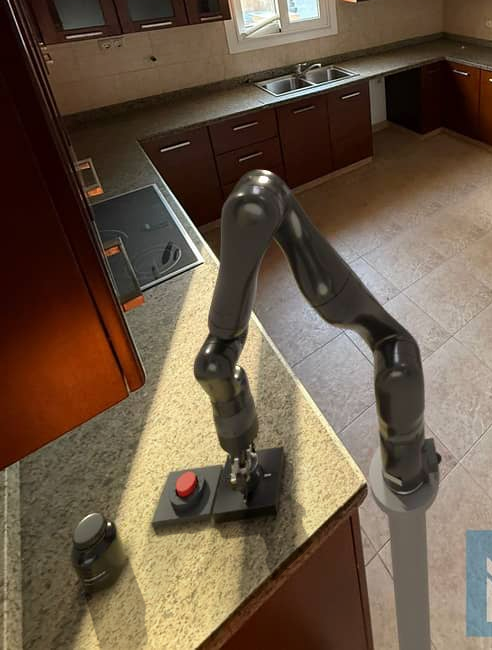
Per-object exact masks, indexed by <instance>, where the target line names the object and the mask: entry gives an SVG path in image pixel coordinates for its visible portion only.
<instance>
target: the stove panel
mask: <svg viewBox="0 0 492 650" xmlns="http://www.w3.org/2000/svg"><path fill="white" fill-rule="evenodd" d="M255 451H256V455H257V457H258V462H259V467H260V471H261V477H260V480H259V482H258V483H257V485H256V486H255V487H253V488H252V491H251V492H249V493H245V494H241V492H240V491H232V489H231V488H230V487H229V485H228V484H227V481H226V479H227V476H228V475H230V474H232V465H231V459H230V457H229V454H227V455H226V458H225V463H224V465H223V469H224V470H223V474H222V478H221V482H220V486H219V490H218V494H217V498H216V502H215V506H214V509H213V513H212V518H213V523H214V525H218V524H224V523H231V522H237V521H244V520H250V519H256V518H262V517H263V518H264V517H268V516H275V515H278V510H279V503H280V496H281V487H282V480H283V473H284V465H285V457H286V455H285V449H284V446H278V447H271V448H264V449H258V450H255Z"/></svg>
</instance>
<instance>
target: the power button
mask: <svg viewBox="0 0 492 650" xmlns="http://www.w3.org/2000/svg"><path fill="white" fill-rule="evenodd" d="M196 485H197V480H196V477H195V474H194V473H193V472H186V473H184V474H183V475H181V476H180V478H179V479H178V481H177V483H176V490H177V493H178V495H179V496H180V497H186V496H188V495H190V494H191V493H192V492H193V491H194V489H195V488H196Z"/></svg>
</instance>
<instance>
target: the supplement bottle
mask: <svg viewBox="0 0 492 650" xmlns="http://www.w3.org/2000/svg"><path fill="white" fill-rule="evenodd" d="M120 534H121V533H120V532H119V529H118V527H117V524H116V522H115V521H114V520H113V519H111V518H107V517H106V516H105V515H104V513H103V512H98V511H96V512H93V513H90V514H88V515H87V516H85V517H84V518H83V519H81V521H80V522H79V523H78V524H77V525H76V527H75V529H74V530H73V532H72V537H71V542H72V547H71V549H70V556H69V557H70V562H71V565H72V567H73V569H74V572H75V574H76V577H77V578H78V581H79V583H80V586H81V587H82V589H83V592H85V593H86V594H88V595H96V594H100V593H102V592H104V591H106V590H107V589H108V588H110V587H111V586H112V585H114V583H115V582H116V580H118V578H119V577H120V575H121V574H122V572H123V569H124V567H125V564H126V562H127V553H126V552H127V551H126V548H125V546H124V543H123V540H122V538H121V535H120Z"/></svg>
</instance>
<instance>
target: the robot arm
mask: <svg viewBox="0 0 492 650" xmlns="http://www.w3.org/2000/svg"><path fill="white" fill-rule="evenodd" d="M220 215H221V217H220V256H219V266H218V272H217V277H216V281H215V285H214V289H213V292H212V296H211V297H212V298H211V301H210V306H209V311H208V316H207V328H208V330H209V332H208V334H207V336H206V338H205V340H204V342H203V343H202V345H201V347H200V349H199V351H198V352H197V354H196V356H195V359H194V362H193V376H194V379H195V382H197V384H199V386H200V387H201V388H202V390H203V391H204V392H205V394H207V396H208V397H209V401H210V405H211V409H212V421H213V424H214V428H215V432H216V436H217V439H218V444H219V447H220V448H221V449H222V451H224V452H226V453H227V454H228V455H229V457H230V459H231V465H232V474H230V475H228V476H227V479H226V481H227V484H228V485H229V487H230V488H231V489H232V491H240V492H241V494H245V493H249V492H251V491H252V483H251V478H250V472H249V470H250V467H251V452H253V453H255V454H256V451H257V450H256V449H257V443H256V441H257V439H258V434H259V430H260V422H259V417H258V412H257V407H256V404H255V403H256V402H255V398H254V395H253V394H252V390H251V387H250V381H249V377H248V373H247V372H246V370H245V368H243V367H242V366H241V365H239V364H238V362H239V361H240V357H241V355H242V353H243V351H244V348H245V345H246V342H247V339H248V335H249V330H250V329H249V327H250V320H251V316H252V313H253V309H254V305H255V301H256V298H257V297H256V296H257V290H258V277H259V270H260V267H261V264H262V261H263V258H264V256H265V254H266V252H267V249H268V248H269V246H270V244H271V242H272V240H274V241H275V242H276V243H277V245H278V246H279V248H280V249H281V251H282V253H283V255H284V258H285V259H286V262H287V265H288V267H289V270H290V272H291V275H292V277H293V280H294V283H295V285H296V287H297V289H298V291H299V293H300V295H301V297H302V298H303V299H304V301H305V302H306V303H307V304H308V306H310V308H311V309H312V310H313V311H314V312H315V313H316V314H317V315H318V316H319V317H320V319H322V320H323V322H325V323H326V324H328V325H330V326H331V327H334V328H337V329H340V330H341V329H342V330H346V331H352V332H355V333H356V334H357V335H358V336H359V337H360V338H361V339H362V340H363V342H364V343H365V344H366V345H367V347H368V348H369V350H370V351H371V354H372V357H373V389H374V400H375V411H376V415H377V423H378V436H379V446H380V449H381V461H382V477H383V480H384V483H385V485H386V486H387V488H388V489H389V490H390V491H391V492H393V493H395V494H397V495H401V496H407V495H411V494H413V493H415V492H416V491H418V490H419V489H420V488H421V486H422V485H423V484H426V483H428V474H429V473H435V472H438V464H439V465H440V464H441V463H442V461H443V458H442V455H441V454H440V453H439V452H438V451H437V450H436V443H435V438H434V437H428V438H426V433H425V432H426V431H425V409H426V389H425V388H426V387H425V375H424V370H423V361H422V355H421V354H422V353H421V349H420V346H419V344H418V341H417V340H416V338H415V336H414V335H413V334H412V333H411V332H410V331H409V330H408V329H406V328H405V326H404V325H402V324H401V323H400V322H399V321H398V320H396V318H395V317H393V316H392V315H391V313H389V312H388V311H387V310H386V309H385V308H384V306H383V305H382V304H381V302H380V301H379V300H378V299H377V297H376V296H375V295H374V294H373V293H372V292H371V291H370V289H369V288H368V287H367V286H366V284H365V283H364V282H363V281H362V279H361V278H360V277H359V275H358V274H357V273H356V272H355V270H353V268H352V267H351V266H350V265H349V263H347V262H346V261H345V260H344V258H342V256H341V254H339V253H338V251H337V250H336V249H335V248H334V247H333V245H332V244H331V243H330V242H329V240H328V239H327V238H326V237H325V235H324V234H323V233H322V232H321V231H320V230H319V229H318V227H316V225H315V224H314V222H313V221H312V220H311V218H310V217H309V215H308V214H307V213H306V211H305V210H304V208H303V207H302V205H301V203H300V202H299V200H298V199H297V198H296V196H295V195H294V193H293V192H292V190H291V189H290V187H289V186H288V184H287V183H286V182H285V181H284V180H283V179H282V178H281V177H280V176H278V175H277V174H276V173H273V172H271V171H269V170H264V169H254V170H250V171H247V172H246V173H245V174H244V175H242V176H241V178H239V180H238V181H237V183H236V184H235V186H234V187H233V189H232V190H231V192H230V193H229V195H228V196H227V198H226V199H225V201H224V203H223V205H222V208H221V214H220ZM246 461H247V463H246ZM243 472H245V474H243Z"/></svg>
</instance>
